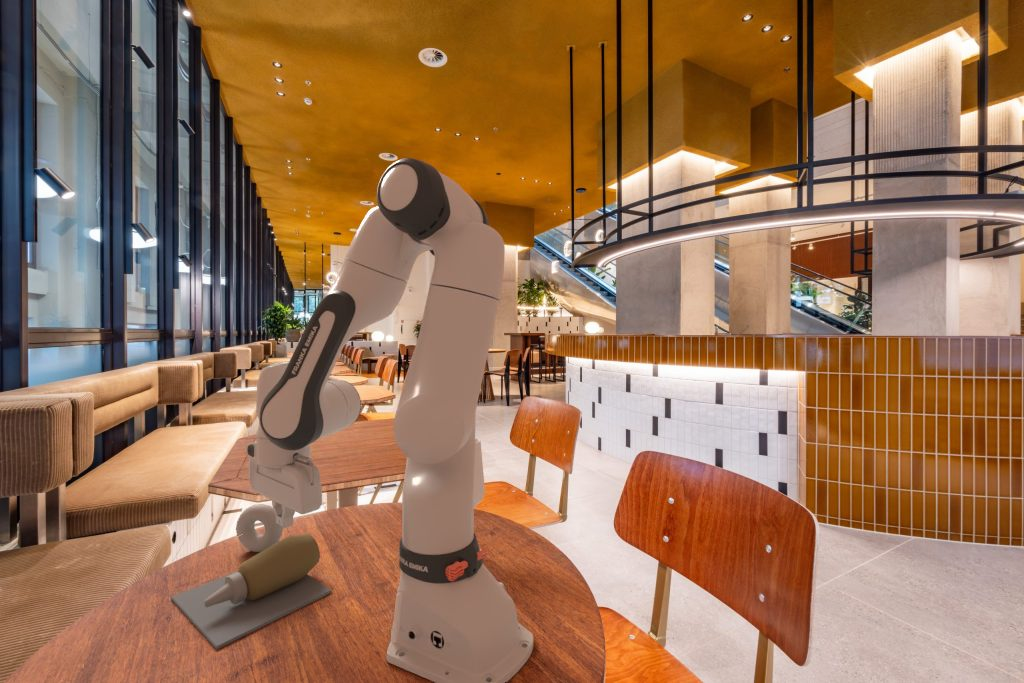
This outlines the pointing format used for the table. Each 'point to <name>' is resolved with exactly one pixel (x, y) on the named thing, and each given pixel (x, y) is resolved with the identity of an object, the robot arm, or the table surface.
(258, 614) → the mat
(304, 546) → the squeeze bottle
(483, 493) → the champagne flute
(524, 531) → the table surface
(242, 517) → the donut
